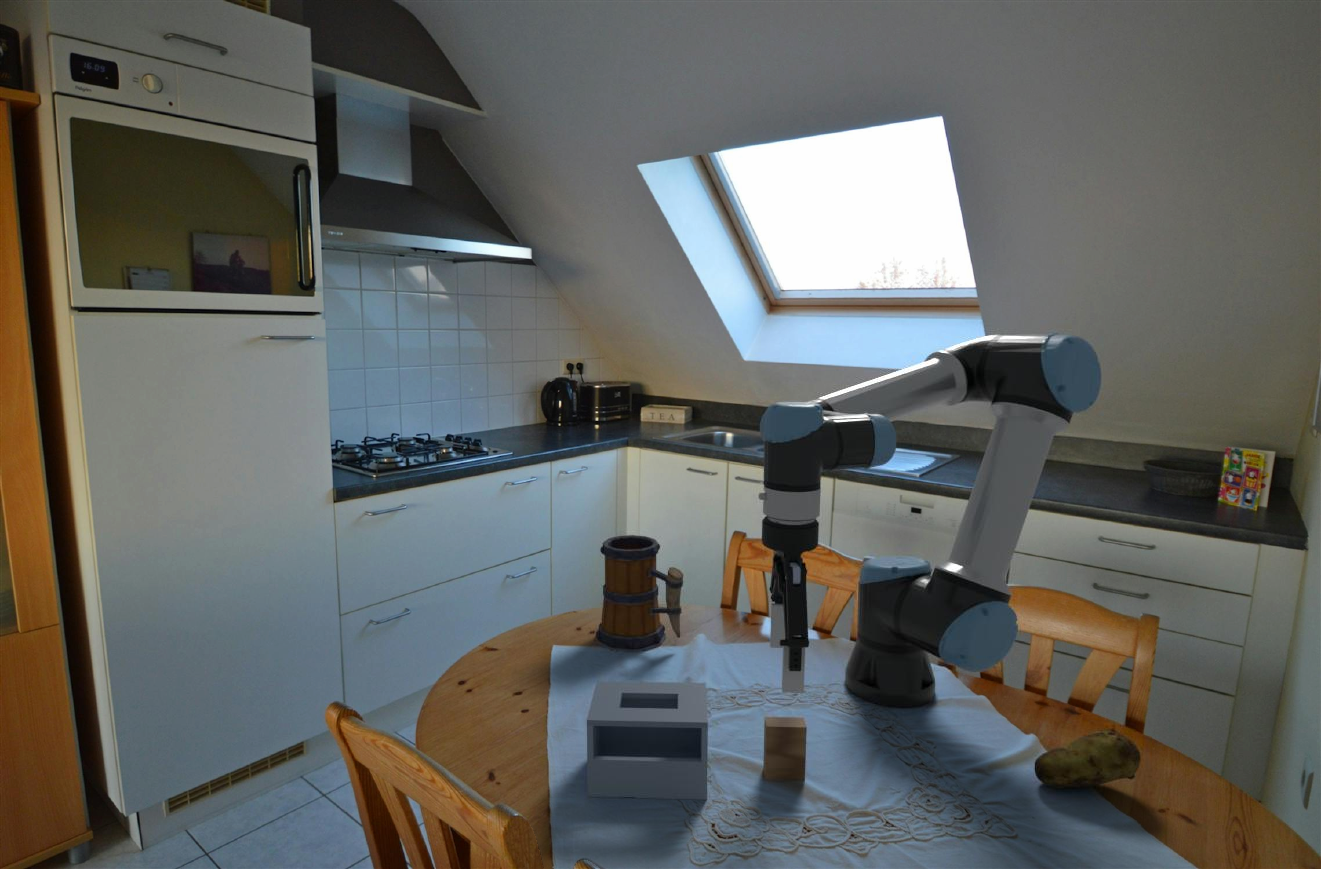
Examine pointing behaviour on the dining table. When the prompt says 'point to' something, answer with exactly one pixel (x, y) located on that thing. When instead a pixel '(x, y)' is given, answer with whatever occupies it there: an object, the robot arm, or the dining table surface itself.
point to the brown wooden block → (784, 748)
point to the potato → (1089, 761)
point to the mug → (636, 595)
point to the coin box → (648, 740)
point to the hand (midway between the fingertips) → (785, 667)
